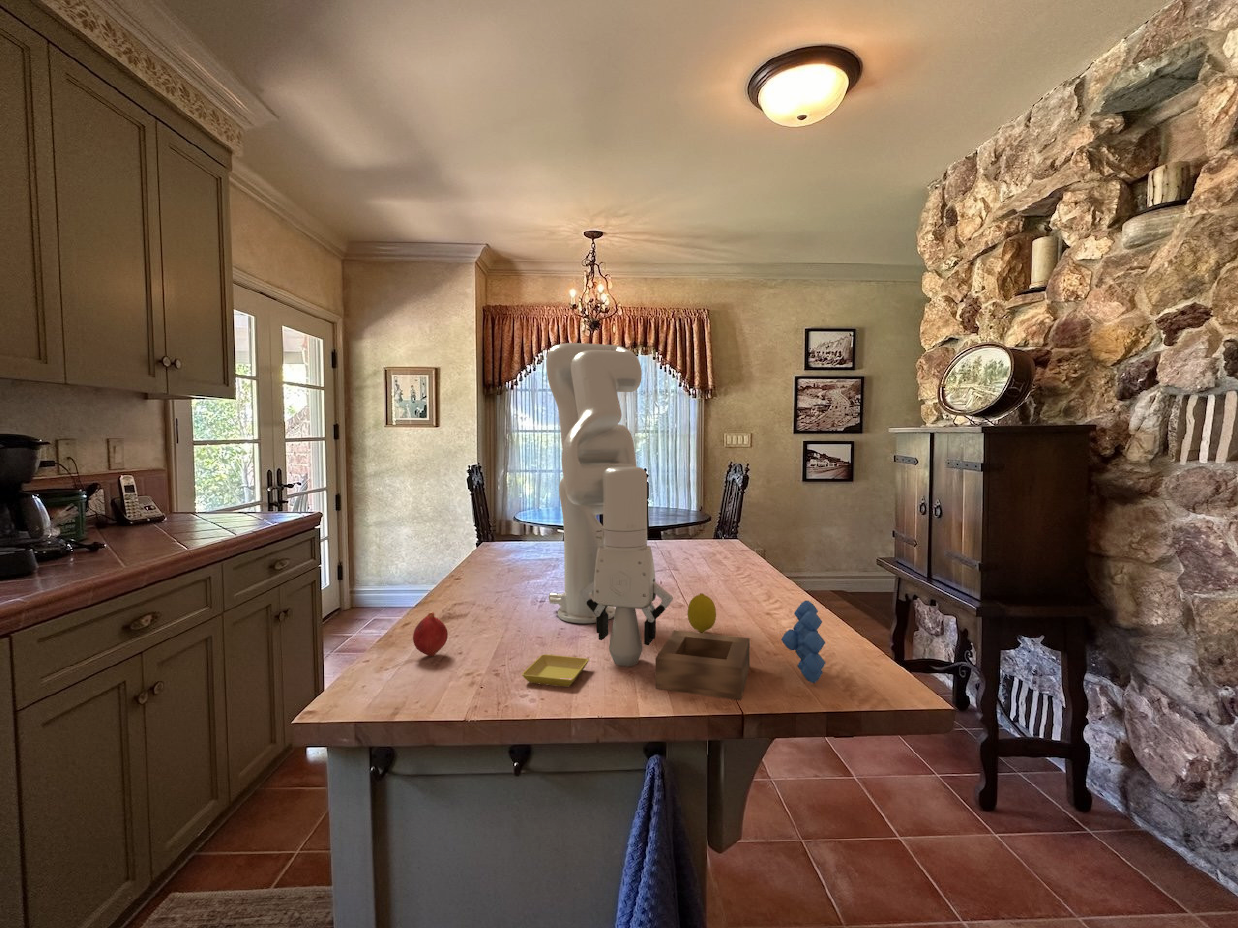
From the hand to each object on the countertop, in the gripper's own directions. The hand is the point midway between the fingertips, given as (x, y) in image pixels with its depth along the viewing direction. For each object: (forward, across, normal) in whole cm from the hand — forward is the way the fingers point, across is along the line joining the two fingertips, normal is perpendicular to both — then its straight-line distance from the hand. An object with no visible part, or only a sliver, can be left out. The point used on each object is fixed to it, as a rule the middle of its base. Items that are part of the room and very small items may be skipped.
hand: (625, 639), depth 97 cm
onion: (+4, -34, -8) cm, 35 cm away
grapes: (+4, +29, +3) cm, 29 cm away
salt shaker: (+4, 0, 0) cm, 4 cm away
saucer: (+5, -9, -9) cm, 14 cm away
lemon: (+4, +10, +18) cm, 21 cm away
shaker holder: (+4, +14, -2) cm, 15 cm away
